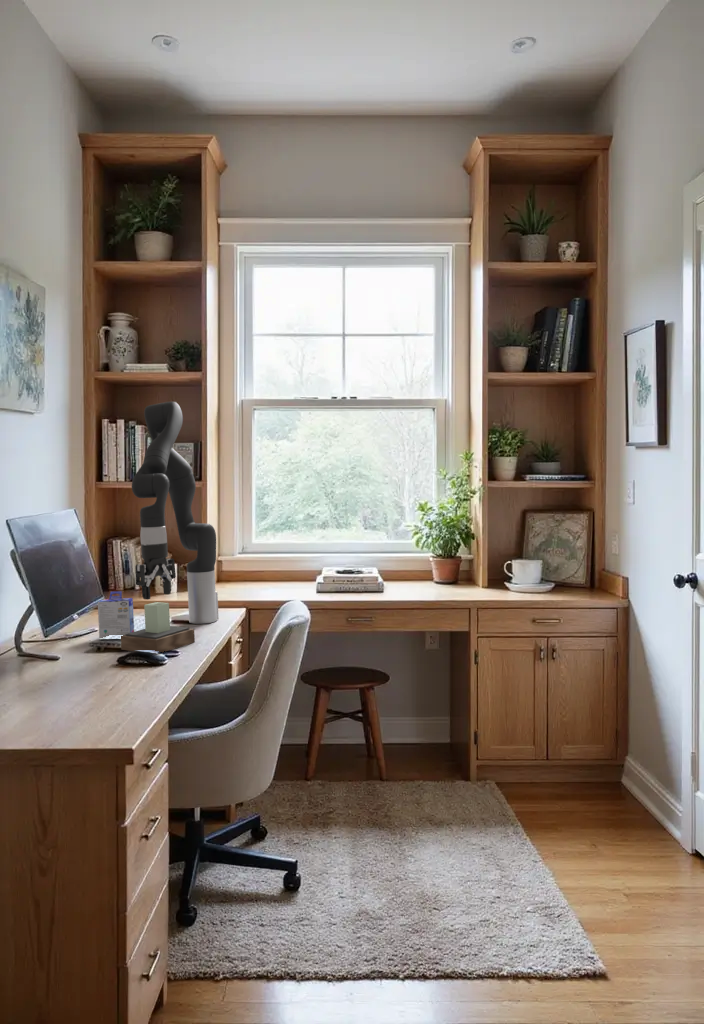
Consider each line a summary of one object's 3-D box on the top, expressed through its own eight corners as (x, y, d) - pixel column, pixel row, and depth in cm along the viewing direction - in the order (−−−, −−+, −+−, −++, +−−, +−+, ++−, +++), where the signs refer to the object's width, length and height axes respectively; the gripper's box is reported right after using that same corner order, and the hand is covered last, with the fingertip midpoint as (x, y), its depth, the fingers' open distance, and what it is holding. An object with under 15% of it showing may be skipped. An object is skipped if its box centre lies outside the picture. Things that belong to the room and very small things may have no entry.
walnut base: (159, 638, 254) (159, 623, 253) (194, 642, 247) (194, 627, 246) (121, 649, 240) (120, 634, 240) (157, 654, 233) (156, 638, 233)
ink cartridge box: (135, 635, 259) (133, 590, 258) (131, 639, 253) (129, 593, 252) (103, 637, 258) (101, 591, 258) (99, 641, 253) (96, 594, 252)
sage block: (157, 628, 246) (156, 602, 246) (170, 629, 244) (168, 603, 243) (145, 631, 242) (144, 604, 242) (158, 633, 240) (157, 605, 239)
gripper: (161, 538, 249) (164, 591, 250) (126, 544, 237) (130, 600, 238) (180, 539, 245) (183, 593, 247) (146, 545, 233) (149, 601, 234)
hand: (157, 596), depth 242 cm, fingers open, 8 cm apart
